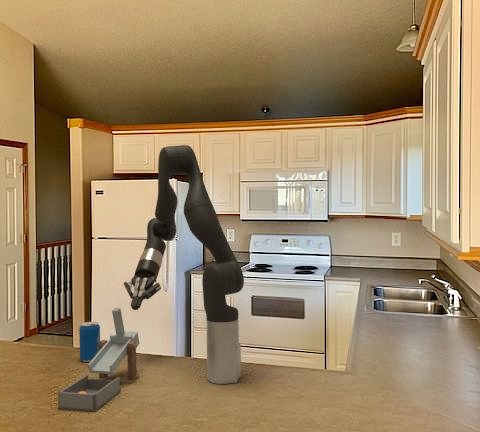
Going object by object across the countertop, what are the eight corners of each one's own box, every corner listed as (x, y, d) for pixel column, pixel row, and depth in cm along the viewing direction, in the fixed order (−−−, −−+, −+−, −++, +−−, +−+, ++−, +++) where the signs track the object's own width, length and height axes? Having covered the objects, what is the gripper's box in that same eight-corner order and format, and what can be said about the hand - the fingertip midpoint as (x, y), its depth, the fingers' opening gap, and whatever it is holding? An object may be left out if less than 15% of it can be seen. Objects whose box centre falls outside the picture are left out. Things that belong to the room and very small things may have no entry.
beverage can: (94, 363, 154) (93, 326, 153) (76, 362, 155) (75, 325, 155) (104, 357, 160) (103, 321, 160) (86, 356, 161) (85, 321, 161)
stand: (140, 378, 139) (139, 340, 139) (132, 384, 134) (131, 345, 134) (103, 375, 142) (103, 338, 141) (95, 381, 137) (94, 343, 137)
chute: (140, 343, 145) (133, 301, 141) (114, 381, 128) (105, 334, 124) (120, 342, 147) (112, 301, 143) (91, 379, 130) (81, 333, 126)
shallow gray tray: (120, 391, 128) (119, 377, 128) (95, 411, 116) (94, 395, 116) (86, 389, 131) (86, 374, 130) (58, 408, 118) (58, 392, 118)
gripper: (127, 258, 160) (110, 301, 148) (164, 258, 157) (150, 302, 146) (134, 271, 165) (118, 314, 154) (170, 272, 163) (157, 316, 151)
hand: (134, 308), depth 150 cm, fingers closed
